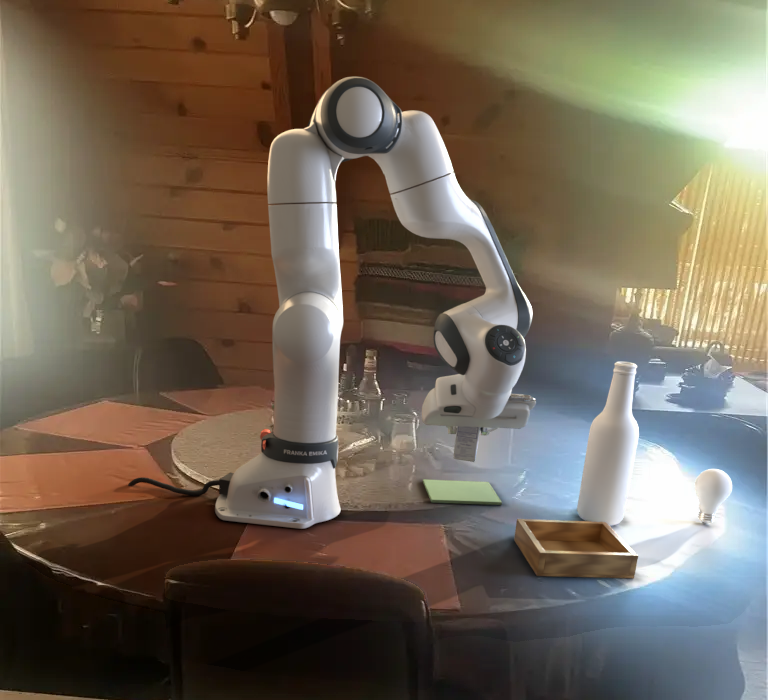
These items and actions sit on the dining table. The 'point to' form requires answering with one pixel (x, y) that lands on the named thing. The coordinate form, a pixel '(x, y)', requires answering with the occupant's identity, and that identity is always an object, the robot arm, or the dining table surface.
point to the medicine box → (466, 443)
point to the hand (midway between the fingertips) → (467, 431)
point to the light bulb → (711, 493)
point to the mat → (461, 492)
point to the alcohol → (610, 453)
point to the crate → (574, 549)
